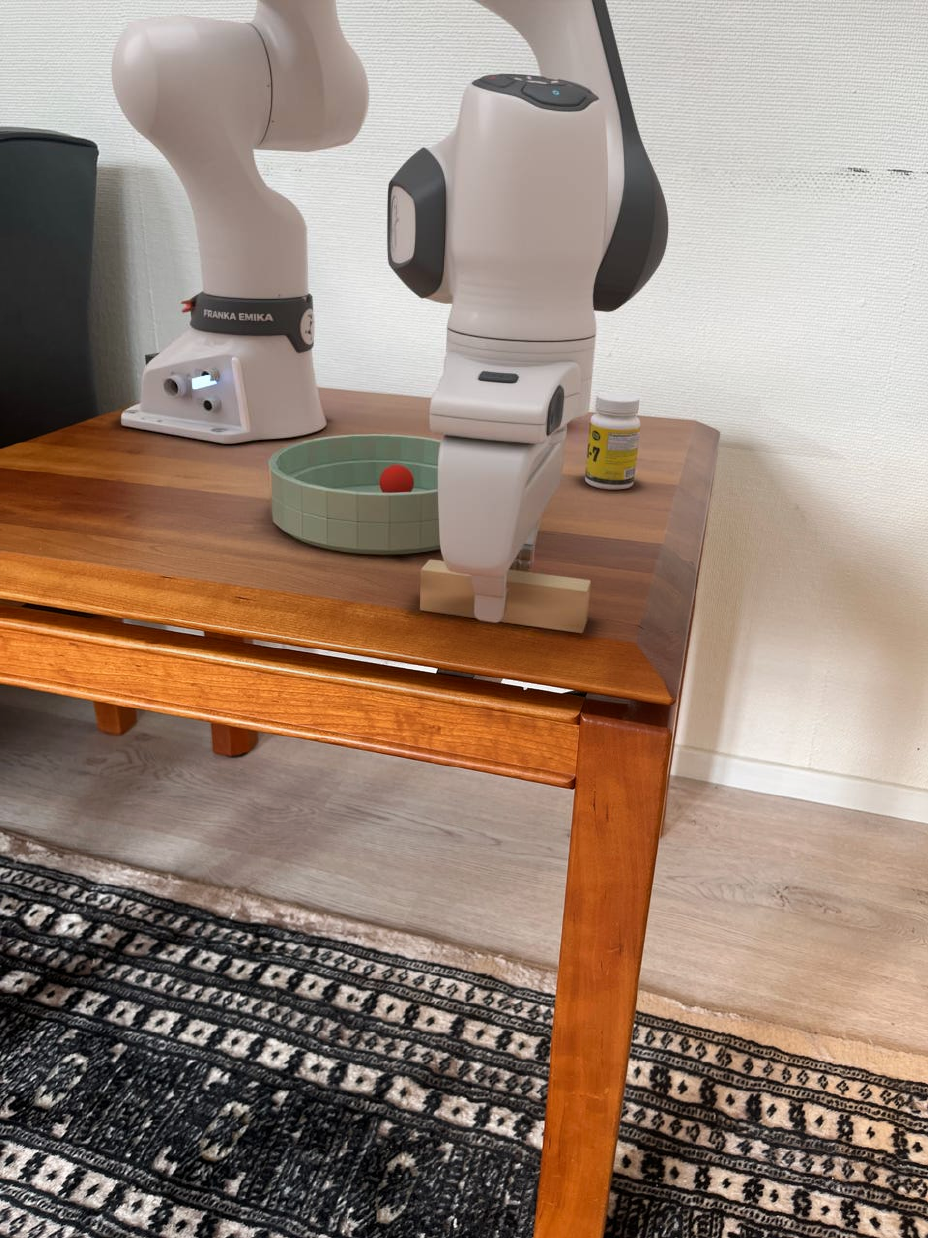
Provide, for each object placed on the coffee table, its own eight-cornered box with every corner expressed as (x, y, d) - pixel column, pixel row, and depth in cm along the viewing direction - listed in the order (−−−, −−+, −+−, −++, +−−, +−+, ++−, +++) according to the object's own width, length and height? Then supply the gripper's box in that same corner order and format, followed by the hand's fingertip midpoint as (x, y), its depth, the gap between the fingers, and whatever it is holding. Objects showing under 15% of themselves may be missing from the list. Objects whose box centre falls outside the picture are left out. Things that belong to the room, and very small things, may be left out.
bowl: (232, 540, 77) (229, 478, 75) (321, 478, 93) (320, 426, 91) (458, 570, 73) (460, 506, 71) (509, 500, 89) (513, 446, 87)
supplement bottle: (580, 475, 97) (587, 390, 94) (626, 476, 98) (636, 391, 94) (589, 490, 93) (598, 401, 89) (638, 491, 93) (649, 402, 90)
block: (419, 610, 66) (420, 569, 65) (428, 599, 68) (429, 558, 67) (582, 633, 64) (586, 591, 63) (586, 621, 66) (590, 579, 64)
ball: (374, 501, 85) (374, 468, 84) (385, 492, 88) (385, 459, 87) (407, 505, 85) (408, 471, 83) (417, 495, 87) (418, 462, 86)
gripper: (504, 349, 69) (493, 535, 75) (419, 408, 51) (414, 648, 57) (593, 357, 68) (576, 545, 74) (539, 420, 50) (522, 664, 55)
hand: (505, 591), depth 65 cm, fingers open, 7 cm apart
